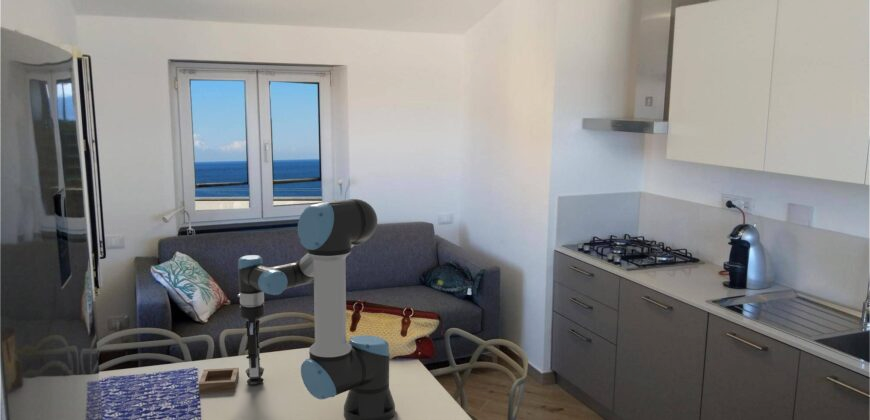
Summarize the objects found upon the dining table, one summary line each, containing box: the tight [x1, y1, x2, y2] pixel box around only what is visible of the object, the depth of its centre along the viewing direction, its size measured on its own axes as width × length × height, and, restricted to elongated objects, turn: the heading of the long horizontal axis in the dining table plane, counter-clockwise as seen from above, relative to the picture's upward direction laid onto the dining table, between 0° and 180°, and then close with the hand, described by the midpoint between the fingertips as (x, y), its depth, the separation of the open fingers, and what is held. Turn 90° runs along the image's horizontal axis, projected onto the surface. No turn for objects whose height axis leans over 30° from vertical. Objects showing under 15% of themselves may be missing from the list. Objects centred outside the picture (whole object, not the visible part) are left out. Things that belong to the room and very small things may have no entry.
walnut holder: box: [198, 367, 240, 395], centre depth 213 cm, size 11×11×3 cm
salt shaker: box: [245, 348, 265, 385], centre depth 214 cm, size 6×6×12 cm
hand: (254, 372), depth 215 cm, fingers closed on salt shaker, 6 cm apart
